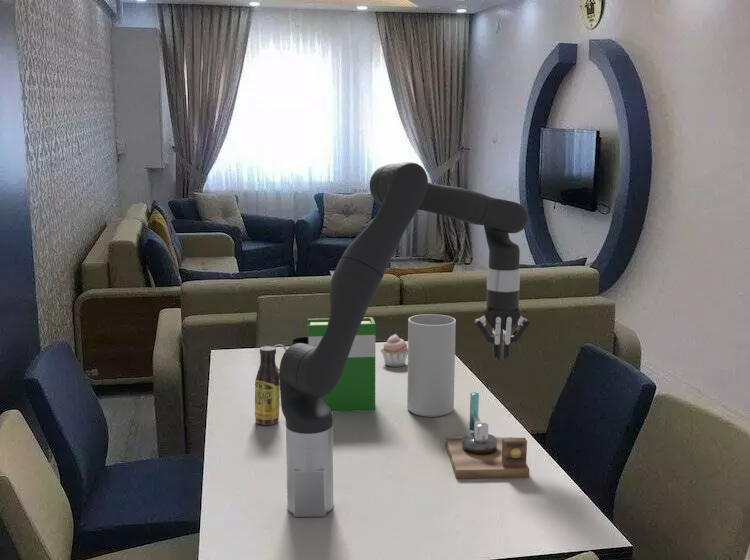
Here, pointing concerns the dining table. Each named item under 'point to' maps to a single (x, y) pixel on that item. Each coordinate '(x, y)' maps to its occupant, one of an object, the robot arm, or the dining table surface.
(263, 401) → the sauce bottle
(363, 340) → the hardback book
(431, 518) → the dining table surface
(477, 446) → the lever
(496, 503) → the dining table surface
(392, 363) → the cupcake
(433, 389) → the cylinder vase
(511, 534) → the dining table surface
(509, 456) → the stand
